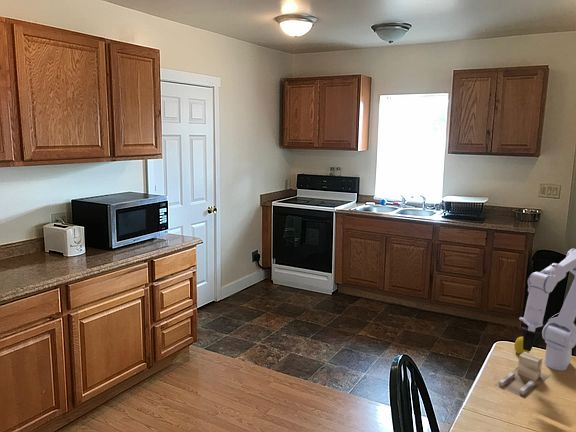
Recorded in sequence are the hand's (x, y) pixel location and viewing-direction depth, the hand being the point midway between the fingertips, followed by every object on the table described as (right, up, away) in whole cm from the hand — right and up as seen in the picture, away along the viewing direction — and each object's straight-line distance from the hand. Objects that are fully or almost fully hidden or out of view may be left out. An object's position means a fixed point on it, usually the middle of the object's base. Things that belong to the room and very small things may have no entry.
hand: (526, 347), depth 159 cm
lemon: (+9, -9, +21) cm, 25 cm away
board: (0, -13, +2) cm, 13 cm away
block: (+3, -11, +5) cm, 13 cm away
